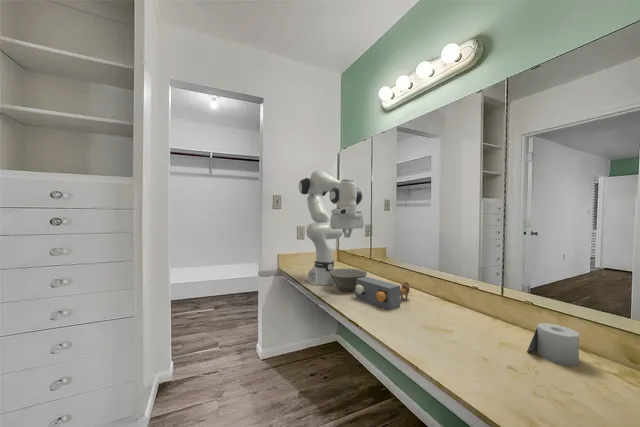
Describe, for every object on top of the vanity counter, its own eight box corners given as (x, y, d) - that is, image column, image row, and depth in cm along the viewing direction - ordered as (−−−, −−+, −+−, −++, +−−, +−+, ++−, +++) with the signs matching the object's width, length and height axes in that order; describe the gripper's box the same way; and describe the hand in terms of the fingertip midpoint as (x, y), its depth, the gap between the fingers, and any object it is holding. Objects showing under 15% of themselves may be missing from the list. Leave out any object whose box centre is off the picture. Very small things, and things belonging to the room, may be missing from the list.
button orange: (375, 300, 119) (375, 290, 119) (382, 298, 122) (382, 288, 122) (383, 303, 115) (383, 292, 115) (390, 301, 118) (390, 291, 118)
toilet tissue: (519, 350, 81) (519, 324, 81) (556, 349, 82) (556, 322, 82) (547, 367, 72) (547, 337, 72) (588, 365, 73) (588, 335, 73)
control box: (355, 297, 133) (356, 278, 133) (366, 294, 138) (366, 276, 138) (389, 310, 115) (389, 288, 115) (400, 306, 120) (400, 285, 120)
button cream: (355, 293, 130) (355, 283, 130) (361, 291, 133) (361, 282, 133) (361, 295, 127) (361, 285, 127) (368, 293, 129) (368, 284, 129)
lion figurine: (402, 296, 135) (402, 279, 135) (411, 298, 132) (411, 281, 132) (388, 303, 125) (388, 285, 125) (398, 305, 121) (398, 287, 121)
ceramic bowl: (324, 292, 141) (324, 274, 141) (334, 282, 163) (334, 267, 163) (363, 297, 134) (363, 278, 134) (369, 285, 156) (369, 269, 156)
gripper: (358, 210, 138) (357, 235, 138) (328, 210, 126) (328, 237, 126) (366, 211, 133) (366, 237, 133) (336, 210, 121) (335, 239, 121)
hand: (347, 237), depth 130 cm, fingers closed
